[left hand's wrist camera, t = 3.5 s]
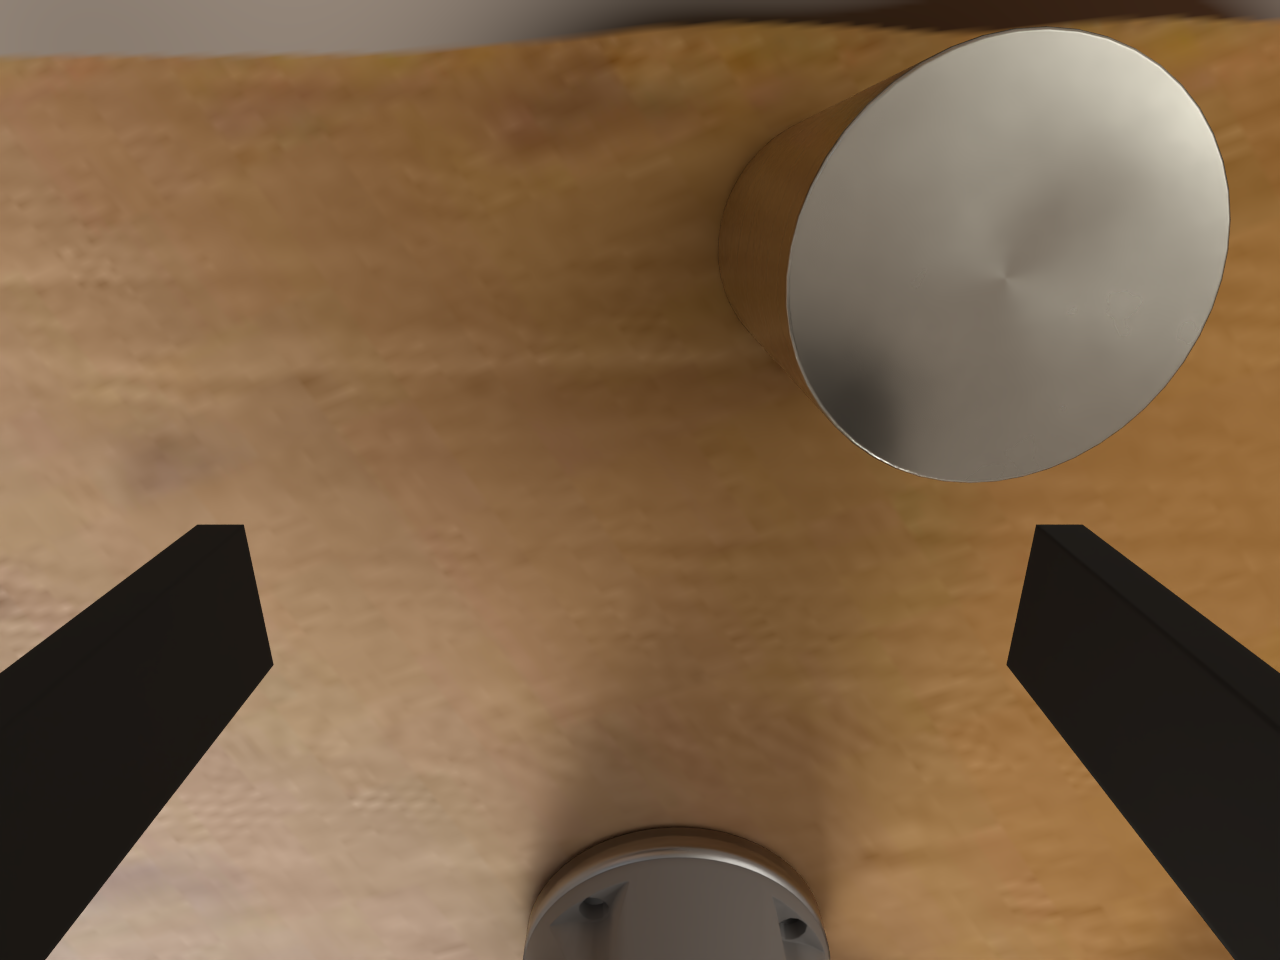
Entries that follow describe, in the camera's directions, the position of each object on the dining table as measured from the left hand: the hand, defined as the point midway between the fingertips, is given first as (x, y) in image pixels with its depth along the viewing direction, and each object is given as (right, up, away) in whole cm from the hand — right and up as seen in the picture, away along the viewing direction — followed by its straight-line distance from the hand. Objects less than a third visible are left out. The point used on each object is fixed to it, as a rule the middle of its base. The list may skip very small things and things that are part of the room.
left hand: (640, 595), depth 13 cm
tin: (+7, +10, +14) cm, 19 cm away
